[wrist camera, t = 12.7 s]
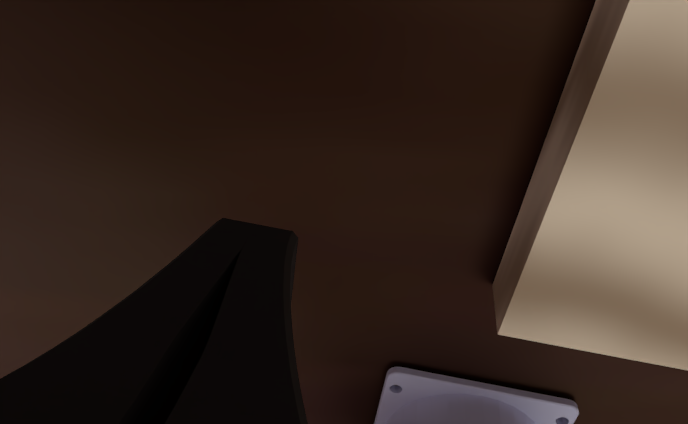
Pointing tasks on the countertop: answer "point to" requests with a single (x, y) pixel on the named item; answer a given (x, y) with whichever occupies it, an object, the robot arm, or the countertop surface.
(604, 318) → the birch board
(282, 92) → the countertop surface
